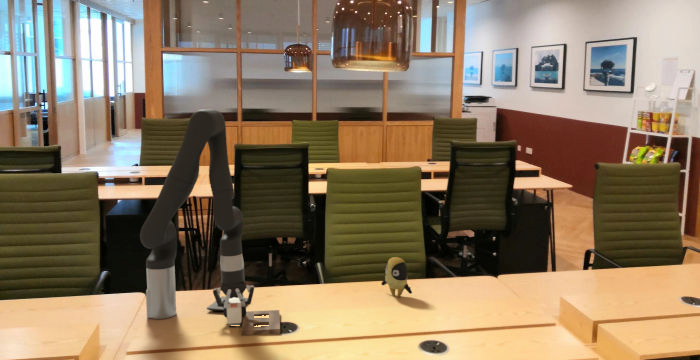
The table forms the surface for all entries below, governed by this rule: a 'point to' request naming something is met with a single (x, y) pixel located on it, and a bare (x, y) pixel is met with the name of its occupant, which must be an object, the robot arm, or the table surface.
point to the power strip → (234, 311)
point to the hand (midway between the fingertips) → (235, 317)
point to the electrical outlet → (216, 307)
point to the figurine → (396, 276)
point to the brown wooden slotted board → (261, 323)
